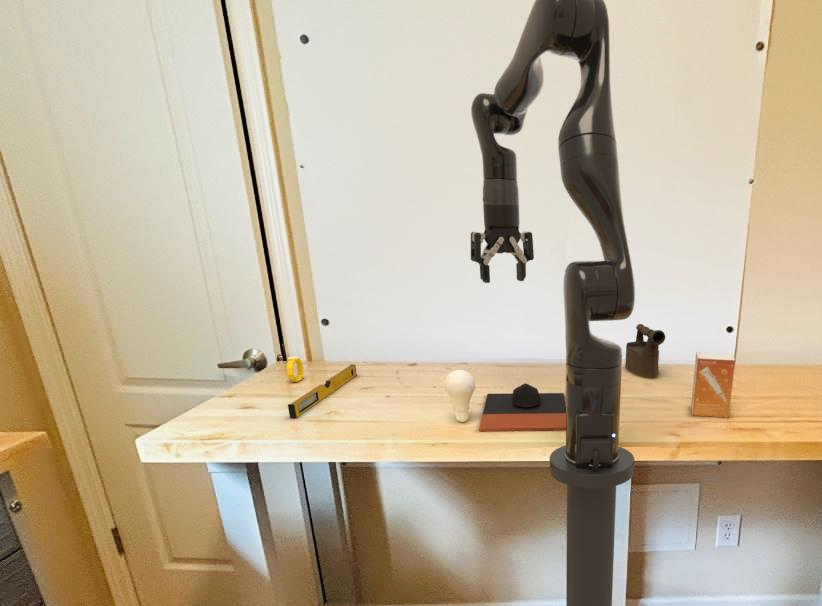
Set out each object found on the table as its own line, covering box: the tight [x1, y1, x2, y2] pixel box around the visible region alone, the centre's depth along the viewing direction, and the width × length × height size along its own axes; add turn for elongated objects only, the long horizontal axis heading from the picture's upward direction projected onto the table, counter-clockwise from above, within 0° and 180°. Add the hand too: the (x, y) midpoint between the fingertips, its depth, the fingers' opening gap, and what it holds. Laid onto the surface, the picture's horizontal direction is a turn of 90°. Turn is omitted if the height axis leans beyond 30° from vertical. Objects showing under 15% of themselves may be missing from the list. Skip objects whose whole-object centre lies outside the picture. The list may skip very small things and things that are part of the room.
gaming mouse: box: [512, 383, 541, 408], centre depth 138 cm, size 6×15×4 cm, turn 9°
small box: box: [690, 351, 736, 419], centre depth 133 cm, size 8×6×13 cm
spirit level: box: [287, 364, 358, 419], centre depth 140 cm, size 33×1×3 cm, turn 0°
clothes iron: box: [624, 323, 666, 379], centre depth 163 cm, size 8×16×13 cm, turn 13°
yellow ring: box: [286, 355, 304, 383], centre depth 150 cm, size 6×3×6 cm, turn 2°
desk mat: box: [478, 392, 566, 432], centre depth 133 cm, size 24×18×1 cm
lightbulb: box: [443, 369, 476, 423], centre depth 124 cm, size 6×6×11 cm
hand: (503, 281), depth 134 cm, fingers open, 8 cm apart
